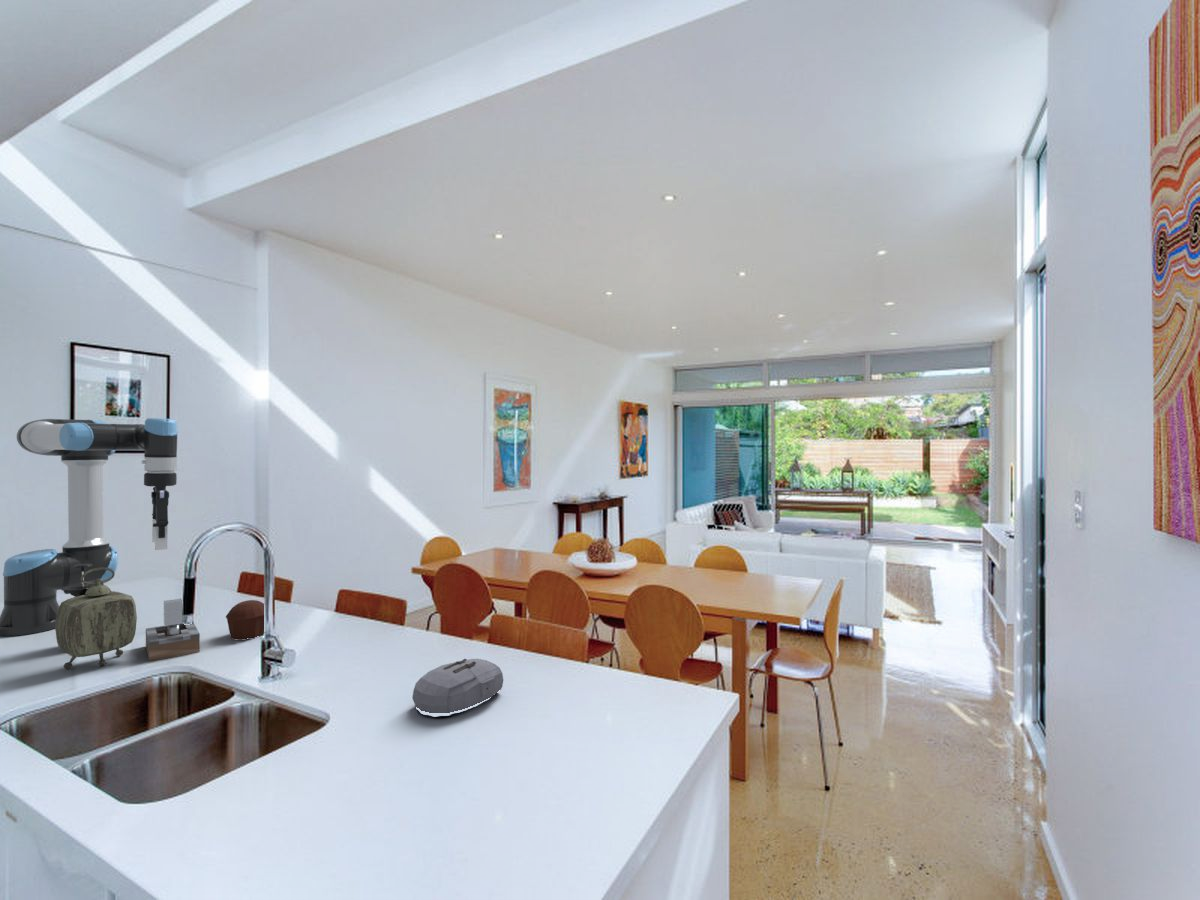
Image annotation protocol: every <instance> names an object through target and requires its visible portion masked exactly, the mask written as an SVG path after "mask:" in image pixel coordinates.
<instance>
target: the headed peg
mask: <svg viewBox="0 0 1200 900" xmlns="http://www.w3.org/2000/svg"><path fill="white" fill-rule="evenodd" d="M182 601H183V602H184V600H183V599H182V598H176V599H174V598H173V599H169V600H163V626H167V630H168V636H174V635H179V624H182Z"/></svg>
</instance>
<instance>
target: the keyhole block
mask: <svg viewBox="0 0 1200 900" xmlns="http://www.w3.org/2000/svg"><path fill="white" fill-rule="evenodd" d="M191 621H192V624H190V625H184V624H183V623H184V622H183V623H182V624H179V635H174V636H168V630H167V626H165V625H160V626H154V627H148V628H145V648H146V649H145V650H146V653H147V657H148V661H149V662H153V661H157V660H158V661H159V660H164V659H168V658H174V657H180V656H185V655H190V654H197V653H200V651H201V650H200V649H201V646H200V645H201V643H200V640H201V639H200V636H201V635H200V634H201V633H200V632H199V630H198V628H197V626H196V625H195V622H194V621H193V620H191Z"/></svg>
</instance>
